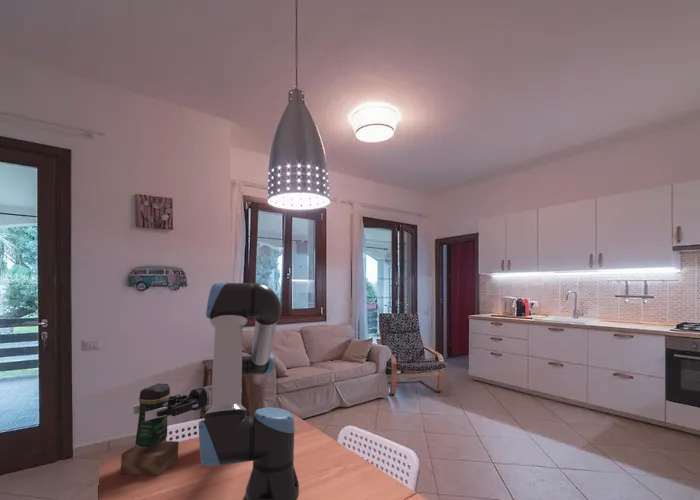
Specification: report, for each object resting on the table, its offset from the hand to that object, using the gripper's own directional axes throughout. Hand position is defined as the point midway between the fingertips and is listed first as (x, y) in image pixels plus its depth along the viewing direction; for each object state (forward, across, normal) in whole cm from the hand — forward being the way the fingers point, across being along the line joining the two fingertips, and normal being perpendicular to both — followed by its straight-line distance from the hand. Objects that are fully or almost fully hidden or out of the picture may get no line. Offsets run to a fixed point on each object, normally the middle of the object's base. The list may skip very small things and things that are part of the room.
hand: (139, 413), depth 121 cm
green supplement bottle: (-5, 0, -11) cm, 12 cm away
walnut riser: (-5, 0, -18) cm, 19 cm away
